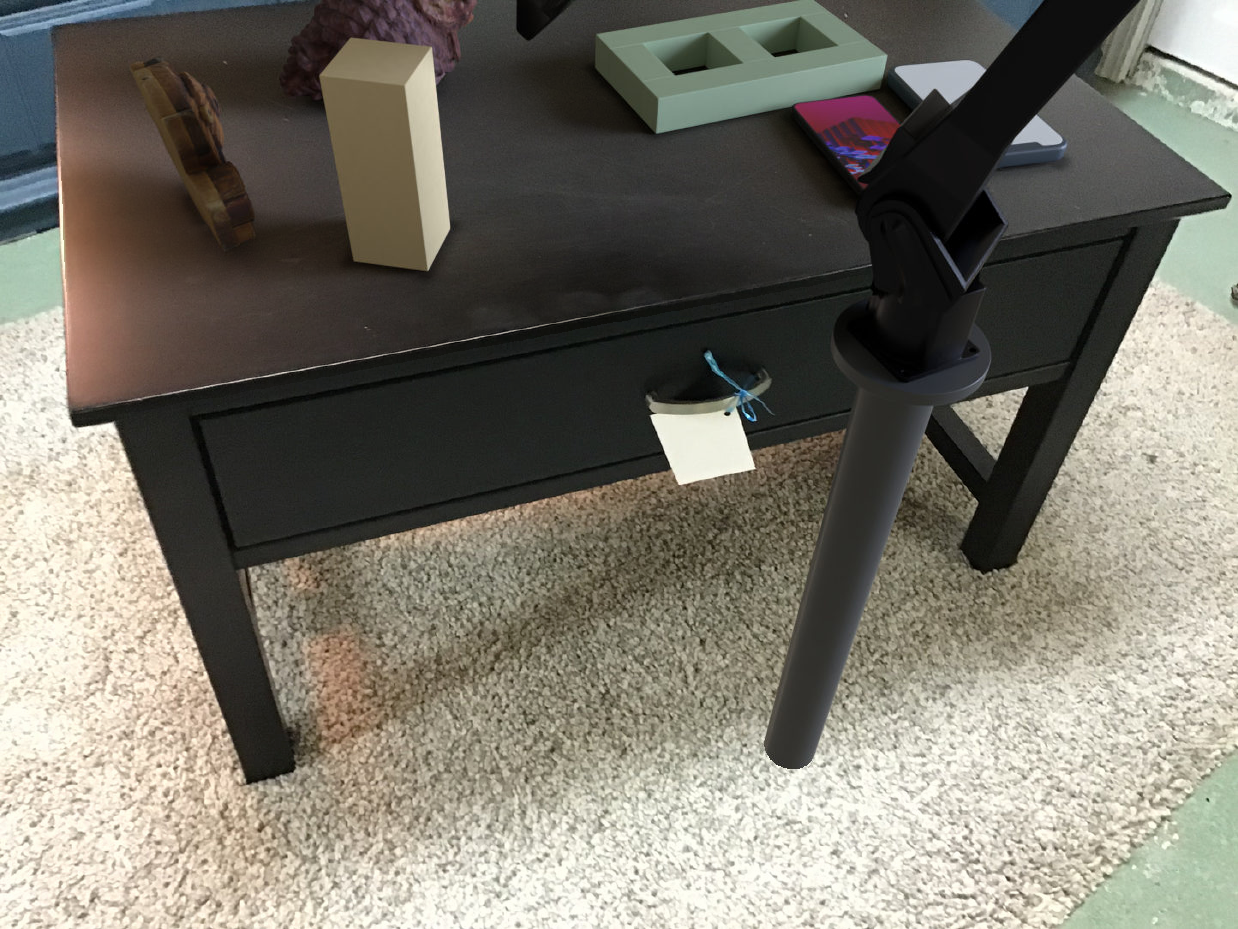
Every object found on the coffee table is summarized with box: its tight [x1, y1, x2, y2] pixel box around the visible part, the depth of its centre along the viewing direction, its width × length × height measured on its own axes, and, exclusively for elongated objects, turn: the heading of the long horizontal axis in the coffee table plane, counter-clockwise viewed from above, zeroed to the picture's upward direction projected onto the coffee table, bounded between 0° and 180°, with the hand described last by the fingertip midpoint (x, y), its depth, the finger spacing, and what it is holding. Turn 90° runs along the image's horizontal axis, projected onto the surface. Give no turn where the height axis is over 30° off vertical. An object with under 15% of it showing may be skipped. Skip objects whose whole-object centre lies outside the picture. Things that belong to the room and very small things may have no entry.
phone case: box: [886, 58, 1068, 169], centre depth 85 cm, size 9×2×16 cm
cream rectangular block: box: [319, 38, 451, 272], centre depth 67 cm, size 5×5×13 cm
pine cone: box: [278, 0, 478, 101], centre depth 84 cm, size 18×10×10 cm
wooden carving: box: [129, 56, 256, 251], centre depth 70 cm, size 16×5×10 cm, turn 36°
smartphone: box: [790, 94, 902, 197], centre depth 81 cm, size 8×1×15 cm
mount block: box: [594, 0, 888, 135], centre depth 89 cm, size 12×21×3 cm, turn 114°
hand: (564, 10), depth 68 cm, fingers open, 9 cm apart
